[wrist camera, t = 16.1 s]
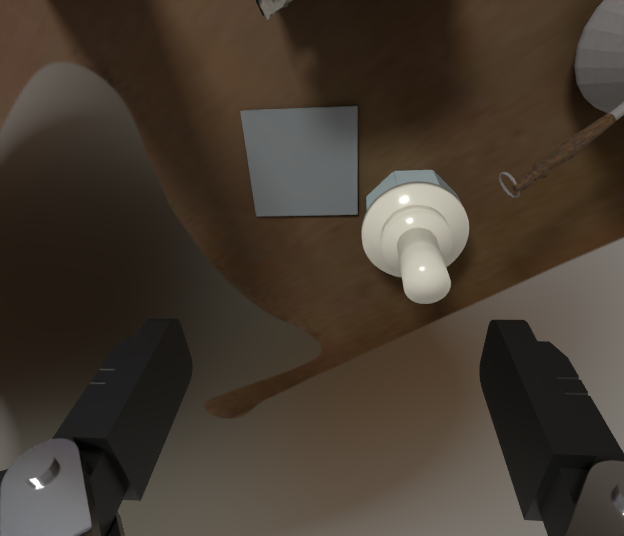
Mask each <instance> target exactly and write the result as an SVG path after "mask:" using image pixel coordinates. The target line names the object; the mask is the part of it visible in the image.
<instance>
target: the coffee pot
mask: <svg viewBox="0 0 624 536" xmlns="http://www.w3.org/2000/svg"><path fill="white" fill-rule="evenodd" d="M574 68H575V76H576V83H577V85H578V87H579V89H580V91H581V93H582V95H583V97H584V98H585V99H586V100H587V101H588V102H589V103H590V104H591V105H592V106H594V107H595V108H596V109H599V110H601V111H604V112H606V113H607V114H606V115H604V116H603V117H601V118H600V119H598V120H597V121H595V122H594V123H592V124H591V125H589V126H588V127H586V128H585V129H583V130H582V131H580V132H579V133H577V134H576V135H574V136H573V137H571V138H570V139H568V140H567V141H565V142H564V143H562V144H561V145H560V146H559V147H558V148H557V149H556V150H555V151H554V152H553V153H552V154H551V155H550V156H549V157H548V158H547V159H546V160H545V161H544V162H543V163H542V162H539V163H536V164H534V166H533V170H532V171H531V172H530V173H529V174H526V175H524V176H522V177H521V178H520V179H519V180H518V181H517V182H516V181H515V179H514V178H513V177H512V176H511V175H510V174H508V173H506V172H502V173H500V174H499V181H500V184H501V186H502V188H503V189H504V190H505V192H506V193H507V194H508V195H509V196H511V197H513V198H517V197H519V194H520V191H521V190H523V189H525V188H527V187H529V186H530V185H532V183H533V182H534V181H535V180H536V179H537V178H545V177H547V176H548V174H549V170H551V169H553V168H554V167H556V166H558V165H560V164H561V163H563V162H565V161H567V160H569V159H571V158H573V157H574V156H575V155H576V154H577V153H579V152H580V151H581V150H582V149H584V148H585V147H586V146H587V145H588V144H590V143H591V142H592V141H593V140H594V139H596V138H597V137H598V136H599V135H601V134H602V133H603V132H604V131H605V130H607V129H608V128H609V127H610V126H611V125H613V124H614V123H615V122H616V120H618V119H619V118H621V117H622V116H623V115H624V0H604V1H603V2H602V3H601V4H600V5H599V6H598V7H597V8H596V10H595V11H594V13H593V14H592V16H591V18H590V19H589V21H588V22H587V24H586V25H585V27H584V29H583V32H582V34H581V37H580V40H579V42H578V45H577V50H576V57H575V64H574ZM502 174H504V175H506V176H508V177H509V178H510V179H511V181H512V182H513V183H514V186H513V190H514V191H516V192H517V195H513V194H511V193H510V192H509V191H508V190H507V189H506V187H505V185H504V184H503V182H502Z"/></svg>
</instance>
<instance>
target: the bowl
mask: <svg viewBox="0 0 624 536" xmlns="http://www.w3.org/2000/svg"><path fill="white" fill-rule="evenodd" d="M416 181H417V182H429V183H434V184H437V185H440V186H442V187H444V188H446V189H447V190H449V191H450V192H452V193H453V194H454V195H455V196H456V197H457V198H458V196H457V194H456V193H455V192H454V191H453V190H452V189H451V188H450V187H449V186H448V185H447V184H446V183H445V182H444V181H443V180H442V179H441V178H440V177H439V176H438V175H437V174H436V173H435V172H434V171H432V170H410V171H394V172H392V173H391V174H390V175H389V176H388V177H387V178H386V179H385V180H384V181H382V182H381V183H380V184H379V185H378V186H377V187H376V188H375V189H374V190H373V191H372V192H371V193H370V194H369V195H367V197H366V212H367V210H368V208H369V207H370V205H371V204H372V202H373V201H374V200H375V199H376V198H377V197H378V196H380V195H381V194H382V193H384V192H385V191H387V190H388V189H390V188H392V187H394V186H397V185H400V184H403V183H408V182H416ZM458 199H459V198H458ZM459 201H460V200H459ZM460 203H461V202H460Z"/></svg>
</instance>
